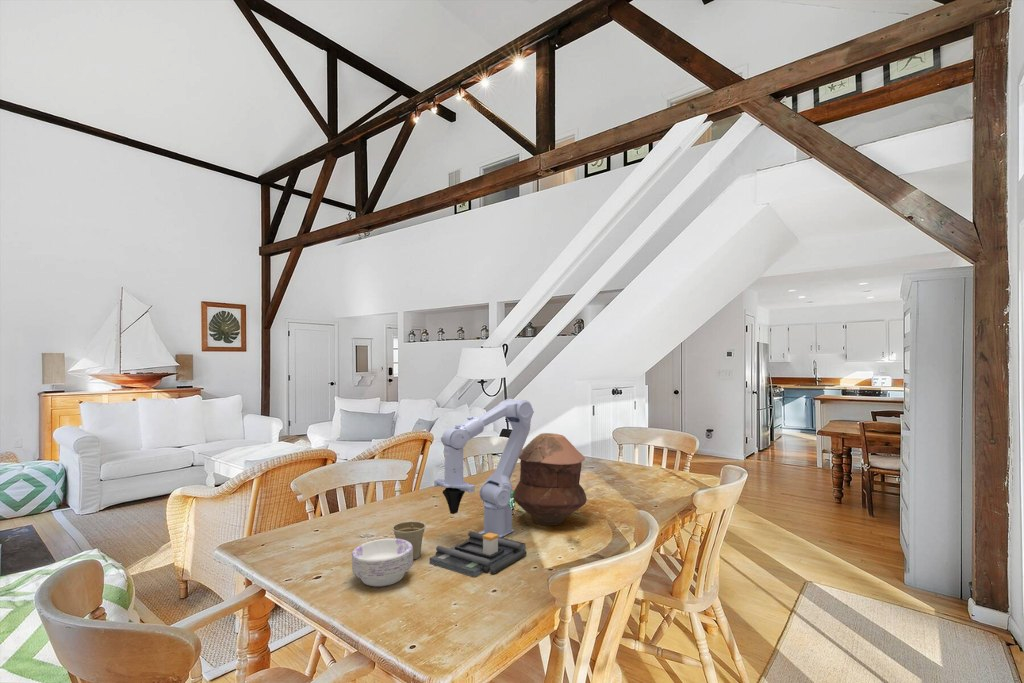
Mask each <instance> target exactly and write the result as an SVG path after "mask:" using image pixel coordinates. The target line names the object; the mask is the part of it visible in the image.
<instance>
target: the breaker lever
mask: <svg viewBox="0 0 1024 683" xmlns="http://www.w3.org/2000/svg"><path fill="white" fill-rule="evenodd" d="M497 551H498V534H494V533H490V532H489V533H487V534H485V535H483V554H487V555H492V554H494V553H495V552H497Z"/></svg>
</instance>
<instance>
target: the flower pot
mask: <svg viewBox="0 0 1024 683" xmlns="http://www.w3.org/2000/svg"><path fill="white" fill-rule="evenodd" d="M426 527H427V526H426V523H424V522H422V521H414V520H413V521H403V522H399V523H396V524H395V525H393V526H392V528H391V529H392V531H393V534H394V539H402V540H406V541H408V542H410V543H411V544H412V547H413V560H414V559H416V560H418V559H419V558H420V557H421V552H422V551H421V550H422V543H423V536H424V533H425V529H426Z"/></svg>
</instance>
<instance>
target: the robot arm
mask: <svg viewBox="0 0 1024 683" xmlns="http://www.w3.org/2000/svg"><path fill="white" fill-rule="evenodd" d="M534 413H535V411H534V408H533V407H532V404H531V402H530V401H529V400H527V399H515V398H510V397H509V398H506V399H505V400H503V401H500V402H499V403H498V404H497V405H496V406H494V407H493V408H491V409H490V410H488V411H487V412H485V413H483V414H482V415H481V416H479V417H478V416H472V415H471V416H470V415H469V416H468V417H467V419H466V420H465V421H463V422H461V423H456V424H455V426H454V427H449V428H446V429H445V430H444V432H443V434H442V436H440V441H441V442H440V443H441V444H442V445H443V446H444V447H443V449H444V479H443V478H442V479H441V478H437V479H434V480H433V486H434V487H441V488H445V489H443V490H442V494H443V496H444V497H445V500H446V502H447V505H448V510H449V513H450V514H451V515H455V514H457V513H459V512H458V511H459V507H460V504H461V502H462V499H463V496H464V495H465V493H466V492H467V493H469V494H471V493H474V492H476V490H475V488H476V485H475V484H470V483H468V482H466V481H464V448H465V447H466V445H467V443H468V441H470V440H471V439H474V437H477V436H478V435H480V434H482V433H483V432H484V429H485V427H487V426H489V425H490V424H492V423H494V422H496V421H497V420H499V419H502V418H504V417H505V419H506V420H507V421H508V422H509V424H510V426H511V428H512V429H511V433H510V434H509V437H508V438H507V439H508V440H507V442H506V444H505V446H504V450H503V451H502V453H501V456H500V458H499V461H498V463H497V466H496V468H495V471H494V473H492V474H491V475H489V476H488V477H487V478H486V480H485V482H484V483H483V484H482V485H481V487H480V489H479V497H480V499H481V501H482V503H483V530H481V531H479V532H478V533H480V534H482V533H486V534H487V533H489V532H490V533H494V534H498V537H502V538H504V537H505V536H507V535H509V534H511V533H513V532H515V529H513V510H512V507H511V505H510V504H509V503H510V501H511V496H512V489H513V488H514V486H513V485H512V482H511V478H512V475H513V473H514V471H515V468H516V466H517V462H518V460H519V456H520V453H521V451H522V449H524V447H525V444H526V442H527V438H528V436H529V433H530V430H531V422H532V421H531V420H532V418H533V415H534Z"/></svg>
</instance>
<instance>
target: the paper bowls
mask: <svg viewBox="0 0 1024 683" xmlns="http://www.w3.org/2000/svg"><path fill="white" fill-rule="evenodd" d="M413 564H414V559H413V547H412V544H411V543H410V542H408V541H406V540H402V539H396V538H380V539H375V540H374V539H373V540H371V541H367V542H364V543H362V544H360V545H357V546H356V547H355V548H354V549H353V550H352V552H351V568H352V569H351V572H352V573H353V575H354V576H356V577H357V578H360V580H361V581H362V582H363V584H365V585H367V586H370V587H379V588H380V587H386V586H391V585H394V584H396V583H398V582H399V581H401V580H402V578H403V577H404V576H405V573H406V572H408V571H409V570H410V569H411V568H412V567H413Z"/></svg>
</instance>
